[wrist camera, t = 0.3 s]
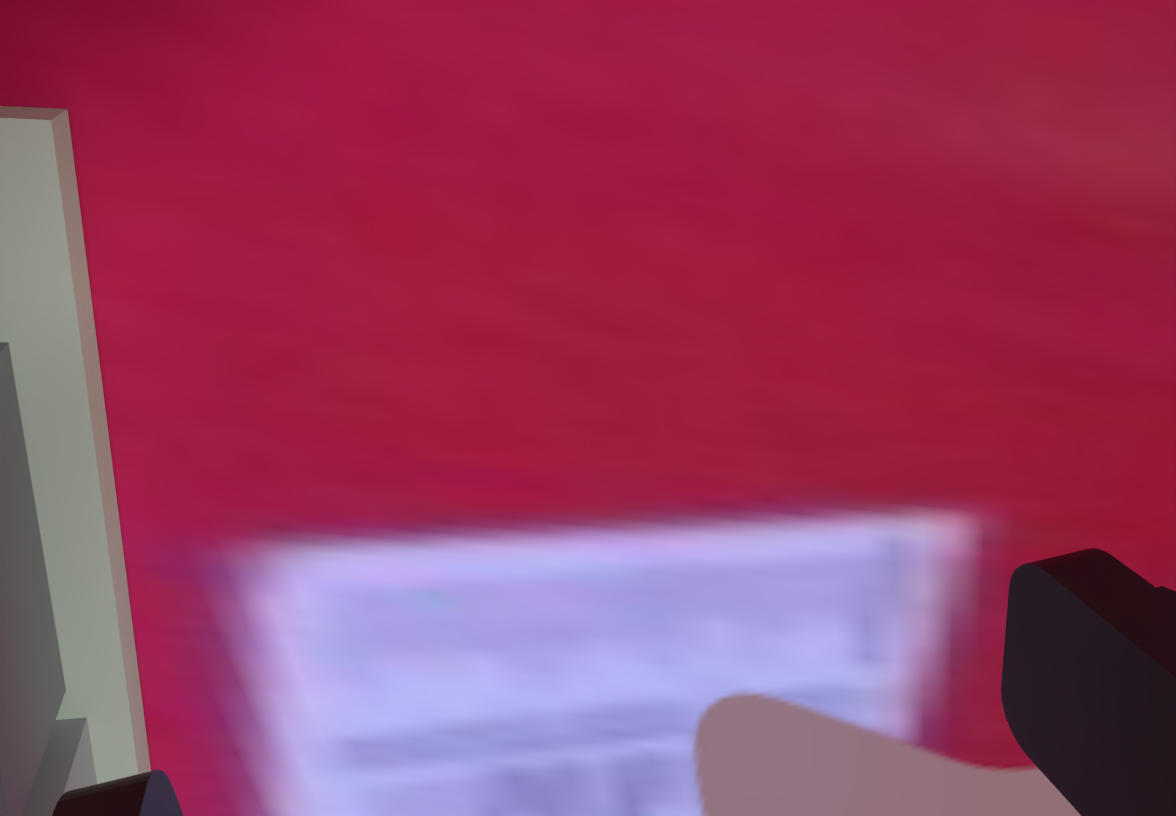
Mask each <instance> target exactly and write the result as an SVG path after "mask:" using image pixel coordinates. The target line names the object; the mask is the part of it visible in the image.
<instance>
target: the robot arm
mask: <svg viewBox="0 0 1176 816" xmlns="http://www.w3.org/2000/svg"><path fill="white" fill-rule="evenodd" d="M1001 695H1002V703H1003V708H1004V712H1005V715H1006V718H1007V721H1008V724H1009V726H1010V728H1011V731H1012V733H1013V735H1014V737H1015V738H1016V740H1017V742H1018V744H1019V745H1020V747H1021V748H1022V750H1023V751H1024V752H1025V753H1026V755H1027V756H1028V757H1029V758H1030V759H1031V760H1032V761H1033V763H1034V764H1035V765H1036V766H1037V767H1038V768H1039V769H1040V770H1041V771H1042V772H1043V774H1044V775H1045V776H1046V777H1047V778H1048V779H1049V780H1050V781H1051V782H1052V784H1053V785H1054V786H1055V787H1056V788H1057V789H1058V790H1059V791H1060V792H1061V793H1062V795H1063V796H1064V797H1065V798H1066V799H1067V800H1068V801H1069V802H1070V803H1071V805H1073V806H1074V808H1075V809H1076V810H1077V811H1078V812H1079V813H1080V815H1081V816H1176V592H1175V591H1173V590H1170V589H1168V588H1166V587H1163V586H1161V587H1157V588H1156V587H1154V586H1153V585H1152V584H1150V583H1149V582H1147V581H1146V580H1145V579H1143V578H1142V577H1141V576H1139V575H1138V574H1136V573H1135V572H1134V571H1132V570H1131V569H1130V568H1128V567H1127V566H1125V565H1124V564H1123V563H1121V562H1120V561H1119V560H1117V559H1116V558H1114V557H1113V556H1112V555H1110V554H1108V553H1107V552H1105V551H1102V550H1100V549H1094V548H1092V549H1085V550H1081V551H1077V552H1073V553H1069V554H1065V555H1060V556H1056V557H1052V558H1048V559H1044V560H1040V561H1035V562H1031V563H1027V564H1023V565H1021V566H1019V567H1018V568H1017V569H1016V570H1015V571H1014V573H1013V574H1012V577H1011V580H1010V586H1009V596H1008V608H1007V621H1006V634H1005V646H1004V659H1003V671H1002V684H1001ZM52 816H183V813H182V811H181V808H180V805H179V802H178V800H177V797H176V794H175V792H174V789H173V787H172V784H171V782H170V780H169V778H168V777H167V775H166V774H165V773H164V772H163V771H161V770H154V771H150V772H145V773H141V774H137V775H133V776H129V777H125V778H120V779H116V780H112V781H108V782H104V783H100V784H95V785H91V786H87V787H83V788H79V789H75V790H70V791H67V792H65V793H64V794H63V795H62V796H61V797H60V799H59V800H58V802H57V804H56V806H55V808H54V811H53V814H52Z"/></svg>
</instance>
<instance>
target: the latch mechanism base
mask: <svg viewBox="0 0 1176 816" xmlns="http://www.w3.org/2000/svg"><path fill="white" fill-rule="evenodd" d="M150 771H151V767H150V760H149V752H148V744H147V736H146V728H145V720H144V712H143V704H142V696H141V688H140V680H139V672H138V664H137V656H136V649H135V641H134V633H133V625H132V617H131V609H130V601H129V593H128V585H127V577H126V569H125V561H124V553H123V545H122V538H121V530H120V522H119V514H118V506H117V498H116V490H115V482H114V474H113V466H112V458H111V450H110V442H109V434H108V426H107V419H106V411H105V403H104V395H103V387H102V379H101V371H100V363H99V355H98V347H97V339H96V331H95V323H94V315H93V308H92V300H91V292H90V284H89V276H88V268H87V260H86V252H85V244H84V236H83V228H82V220H81V212H80V204H79V197H78V189H77V181H76V173H75V165H74V157H73V149H72V141H71V133H70V125H69V117H68V109H55V108H35V107H14V106H0V816H52V814H53V811H54V808H55V806H56V804H57V802H58V800H59V799H60V797H61V796H62V795H63V794H64V793H65V792H67V791H70V790H75V789H79V788H83V787H87V786H91V785H95V784H100V783H104V782H108V781H112V780H116V779H120V778H125V777H129V776H133V775H137V774H141V773H145V772H150Z"/></svg>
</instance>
